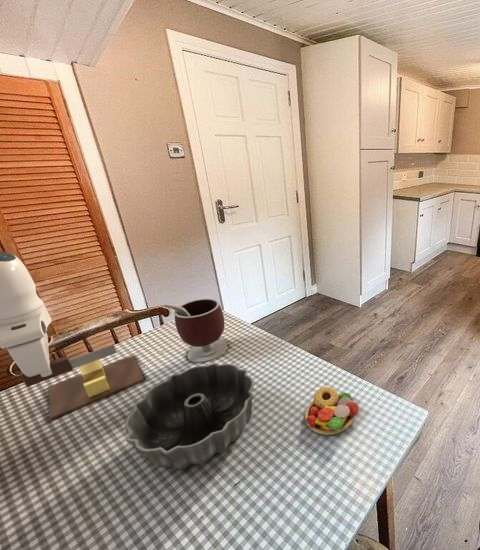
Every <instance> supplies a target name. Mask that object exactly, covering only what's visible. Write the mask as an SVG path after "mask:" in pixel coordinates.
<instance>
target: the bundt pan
mask: <svg viewBox="0 0 480 550" xmlns="http://www.w3.org/2000/svg"><path fill="white" fill-rule="evenodd" d="M254 387H255V381H254V379H253V377H252V376H250V375H249V374H248V370H247V369H245V368H240V367H239V366H238V365H236V364H233V363H223V364H219V363H217V362H213V363H210V364H208V365H196V366H192V367H190V368H187V369H185V370H183V371H182V372H180V373H175V374H172V375H170V376H169V377H168V378H167V379H166V380H164V381H162V382H160V383H158V384H156V385H154V386H153V387H151V388H150V389H149V390H147V392H146V393H145V394H144V395H143V397H142V399H141V400H139V401H137V402H136V403H134V404H133V406H132V410H133V411H132V412H131V413H130V414H129V415H128V416H127V418H126V420H125V422H124V430H125V431H126V433H128V434H127V436H126V439H125V441H126V442H127V444H131V445H132V446H133V447H134V448H135V449H136V450H137V452H138V453H139V454H140V456H142V457H143V458H145V459H148V460H149V461H150V462H151V463H152V464H153V465H155V466H156V467H159V468H171V467H174V468H175V469H177V470H180V471H181V470H183V469H185V468H187V467H188V466H189V465H190V464H192V465H200V464H204V463H206V462H208V461H209V460H211V458H213V456H214V455H216V454H217V453H225V452H226V451H227V448H228V447H229V445H230V443H232V442H234V441H236V440H237V439H239V438H240V437H241V435H242V434H243V432H244V430H245V427H246V424H248V422H249V421H250V420H251V419H252V414H253V398H254V392H253V389H254Z"/></svg>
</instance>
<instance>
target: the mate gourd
mask: <svg viewBox="0 0 480 550" xmlns="http://www.w3.org/2000/svg"><path fill="white" fill-rule="evenodd" d="M164 308H169V309H172V310H174V312H173V313H174V314H173V315H174V325H175V329H176V331H177V334H178V336H179V337H180V340H181V341H182V342H184V343H185V344H187V345H189V346H191V348H190V349H189V351H188V353H187V359H188V360H189V361H190V362H193V363H204V362H205V363H206V362H210V361H212V360H215V359H217V358H220V357H221V356H222V355H223V354H224V353H225V352H227V349H228V344H227V342H226V341H224V340H222V339H220V338H221V336H222V335H223V333H224V331H225V316H224V312H223V309H222V306H221V305H220V302H219V301H218V300H217V299H214V298H199V299H194V300H189V301H187V302H184V303H182V304H180V305H176V304H168V303H167V304H166V303H165V304H164Z"/></svg>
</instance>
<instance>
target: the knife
mask: <svg viewBox="0 0 480 550" xmlns="http://www.w3.org/2000/svg"><path fill="white" fill-rule="evenodd" d="M117 353H118V352H117V350H116V347H115V345H114V344H110V345H108V346H105V347H102V348H99V349H96V350H93V351H91V352H87V353H85V354H82V355H78V356H76V357H73V358H70V359H69V357H68V355H65V356H62V357H58V358H56V359H54V360H53V359H52V360H50V368H51V370H52V374H51V375H49V376H46V377H42V376H41V375H40V374H38V375H35V376H32V377H28V376H26V375H25V374H24V373H23V372H22V371H21V370H20V378H21V379H22V380H23V383H24V384H25V386H26V388H30V387H31V386H34V385H37V384H39V383H43V382H45V381H47V380H50V379H54V378H57V377H58V376H61V375H64V374H67V373H69V372H73V371H74V369H76V368H80V366H82V365H85V364H88V363H90V362H93V361H96V360H99V359H100V360H101V359H104V358H107V357H109V356H112V355H116V354H117Z"/></svg>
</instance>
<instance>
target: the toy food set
mask: <svg viewBox="0 0 480 550" xmlns="http://www.w3.org/2000/svg"><path fill="white" fill-rule="evenodd" d="M359 410H360V408H359V405H358V403H357V402H355V401H352V395H351V394H350V393H349V392H343V393H338V392H337V390H336V389H335V388H334V387H331V386H323V387H320V388H319V389H317V390H316V391H315V393H314V394H313V400H312V401H311V402H310V403H309V405H308V406H307V407H306V410H305V413H304V421H305V423H306V425H307V426H308V428H309V429H310V430H312V431H313V432H315V433H317V434H319V435H329V436H331V435H336V434H339V433H341V432H343V431H345V430H347V429H348V428H349V427H350V426H351V425H352V423H353V422H354V420H355V418H356V415H357V414H358V413H359Z"/></svg>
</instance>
